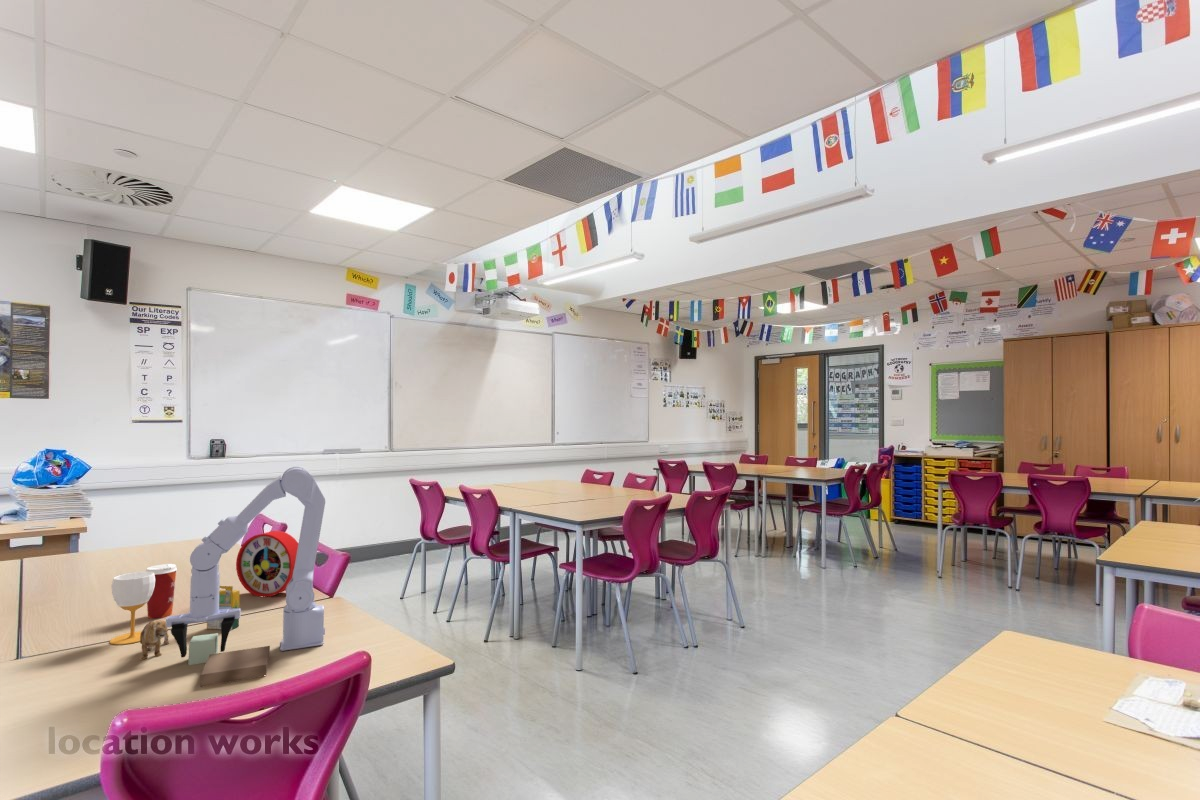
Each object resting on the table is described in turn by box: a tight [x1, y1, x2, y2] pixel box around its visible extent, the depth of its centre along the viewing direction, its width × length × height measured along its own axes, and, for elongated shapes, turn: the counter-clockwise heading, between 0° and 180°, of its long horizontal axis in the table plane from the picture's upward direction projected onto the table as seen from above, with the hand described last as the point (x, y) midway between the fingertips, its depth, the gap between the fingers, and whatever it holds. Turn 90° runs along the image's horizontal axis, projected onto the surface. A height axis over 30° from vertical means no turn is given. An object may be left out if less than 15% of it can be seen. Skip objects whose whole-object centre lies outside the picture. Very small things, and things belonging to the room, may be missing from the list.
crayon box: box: [206, 585, 241, 631], centre depth 159 cm, size 7×3×12 cm, turn 84°
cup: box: [109, 571, 155, 646], centre depth 152 cm, size 9×9×16 cm
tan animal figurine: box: [139, 619, 170, 660], centre depth 143 cm, size 15×5×9 cm, turn 34°
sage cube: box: [188, 632, 219, 666], centre depth 138 cm, size 5×5×5 cm
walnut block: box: [200, 645, 271, 688], centre depth 132 cm, size 12×12×3 cm
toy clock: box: [235, 530, 299, 598], centre depth 191 cm, size 20×6×20 cm, turn 80°
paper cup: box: [145, 563, 178, 620], centre depth 170 cm, size 8×8×14 cm
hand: (203, 653), depth 138 cm, fingers open, 7 cm apart
